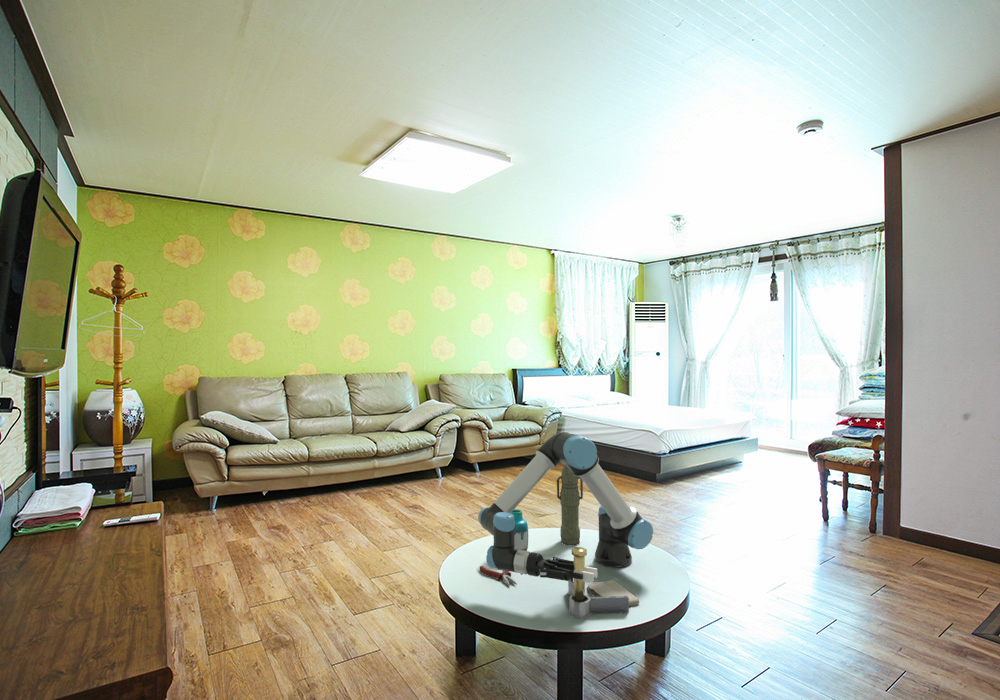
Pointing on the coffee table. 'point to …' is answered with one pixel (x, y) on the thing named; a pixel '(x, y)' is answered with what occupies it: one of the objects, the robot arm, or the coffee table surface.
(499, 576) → the pliers
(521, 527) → the vase
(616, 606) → the hinge
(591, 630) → the coffee table surface
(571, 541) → the thermos
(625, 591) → the washcloth
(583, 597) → the hinge pin
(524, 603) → the coffee table surface
